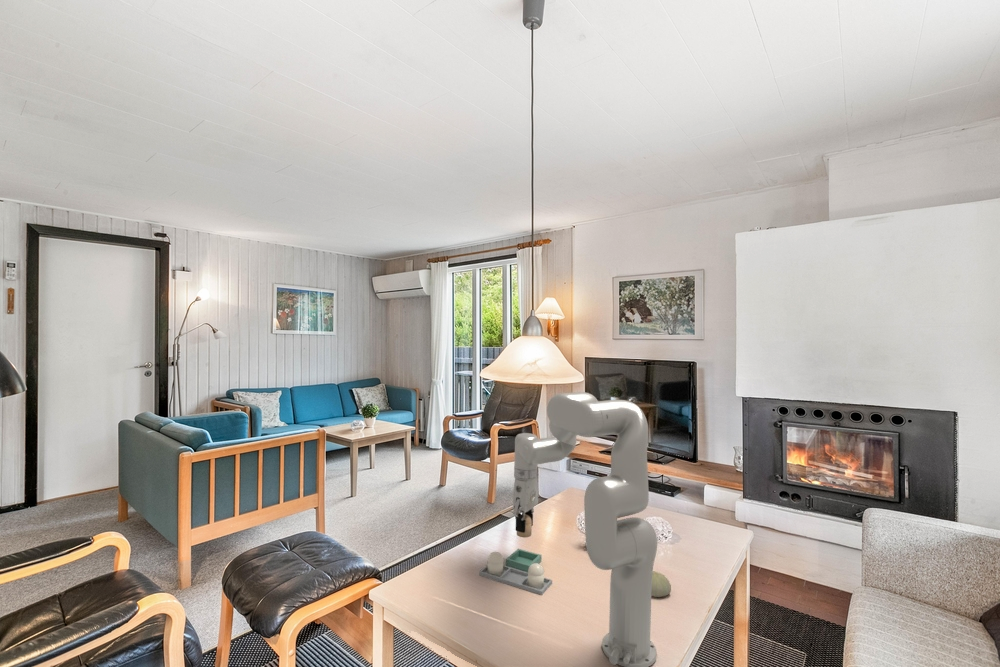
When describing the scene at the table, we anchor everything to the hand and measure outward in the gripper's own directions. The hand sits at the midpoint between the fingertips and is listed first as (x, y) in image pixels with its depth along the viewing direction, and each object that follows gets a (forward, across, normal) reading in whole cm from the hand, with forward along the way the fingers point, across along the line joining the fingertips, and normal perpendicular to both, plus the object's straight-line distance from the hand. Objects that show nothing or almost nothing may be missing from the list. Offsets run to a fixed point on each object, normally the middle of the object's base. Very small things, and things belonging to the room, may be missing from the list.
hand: (524, 527), depth 155 cm
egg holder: (+12, 0, 0) cm, 12 cm away
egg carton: (+12, -10, -2) cm, 16 cm away
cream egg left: (+11, -10, +5) cm, 16 cm away
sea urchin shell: (+12, +7, -40) cm, 42 cm away
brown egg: (+2, 0, 0) cm, 2 cm away
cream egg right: (+11, -10, -9) cm, 18 cm away
